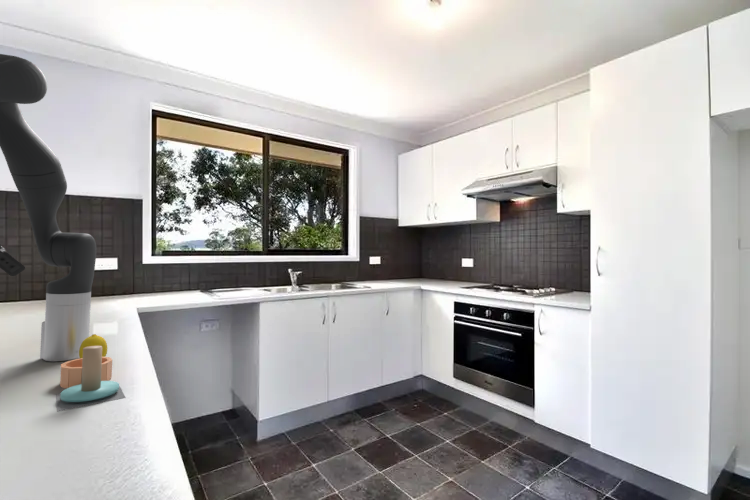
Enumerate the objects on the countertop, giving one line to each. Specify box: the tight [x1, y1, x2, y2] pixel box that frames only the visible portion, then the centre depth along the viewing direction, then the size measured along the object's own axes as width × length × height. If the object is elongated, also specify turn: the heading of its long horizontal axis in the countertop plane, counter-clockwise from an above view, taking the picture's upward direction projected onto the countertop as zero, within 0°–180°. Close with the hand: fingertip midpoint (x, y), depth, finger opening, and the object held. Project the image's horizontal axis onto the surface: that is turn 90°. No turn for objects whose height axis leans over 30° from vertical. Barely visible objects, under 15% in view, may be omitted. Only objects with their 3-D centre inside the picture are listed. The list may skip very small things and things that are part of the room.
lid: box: [59, 346, 120, 402], centre depth 71 cm, size 9×9×9 cm
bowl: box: [59, 356, 113, 389], centre depth 78 cm, size 9×9×4 cm
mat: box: [55, 385, 126, 413], centre depth 70 cm, size 10×10×1 cm
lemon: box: [79, 333, 108, 358], centre depth 89 cm, size 6×6×8 cm
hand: (18, 271), depth 63 cm, fingers open, 8 cm apart
